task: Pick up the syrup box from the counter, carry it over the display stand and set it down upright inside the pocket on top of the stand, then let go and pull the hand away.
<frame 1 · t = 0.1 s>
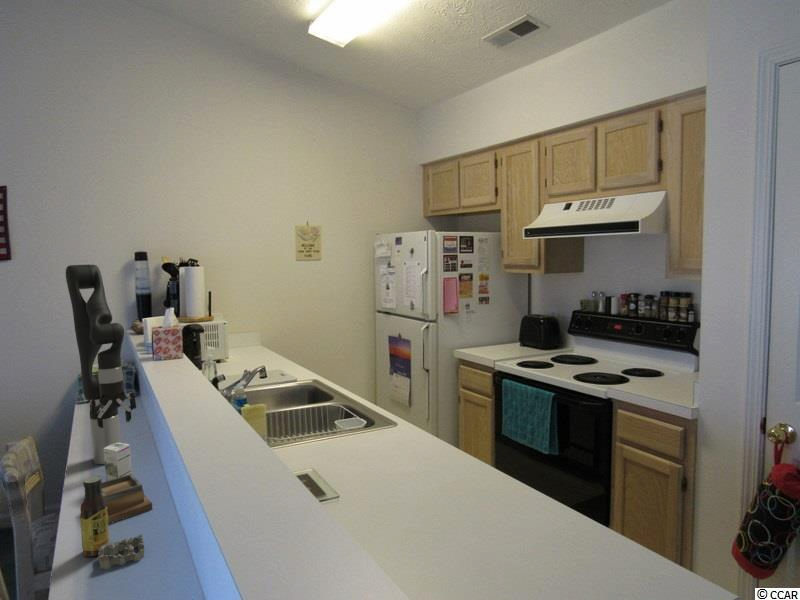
hand: (114, 424, 183), 17 cm above the countertop, tool pointing down, fingers open, 8 cm apart
sauce bottle: (96, 551, 138), on the countertop
syrup box: (119, 487, 173), on the countertop
egg carton: (122, 559, 135), on the countertop
display stand: (119, 507, 160), on the countertop
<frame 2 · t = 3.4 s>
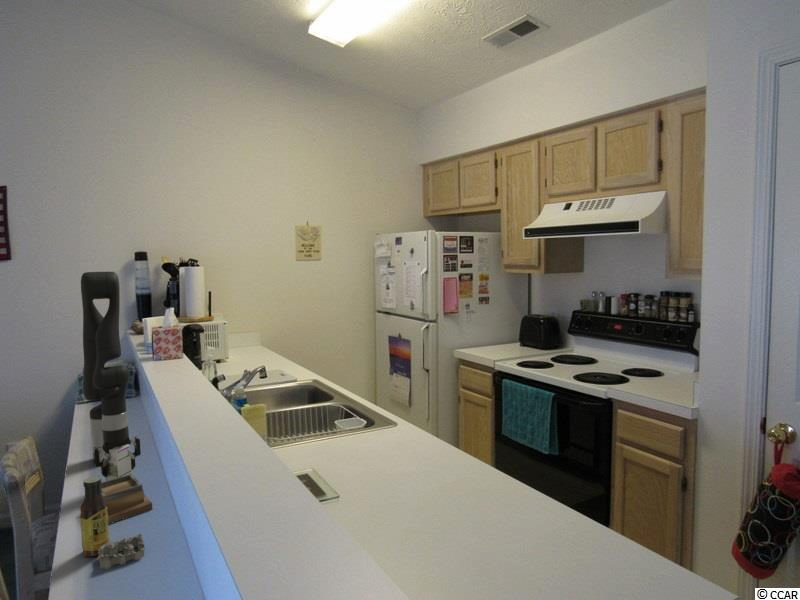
hand: (118, 472, 173), 5 cm above the countertop, tool pointing down, fingers closed on syrup box, 7 cm apart
syrup box: (119, 487, 173), on the countertop, touching gripper
everything else where it was.
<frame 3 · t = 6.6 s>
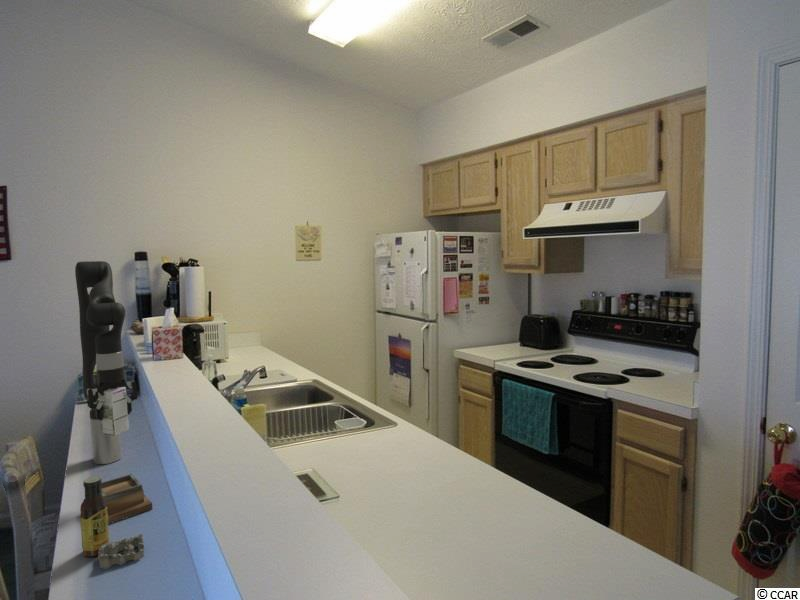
hand: (114, 416, 164), 27 cm above the countertop, tool pointing down, fingers closed on syrup box, 7 cm apart
syrup box: (115, 432, 164), point 22 cm above the countertop, touching gripper
everything else where it was.
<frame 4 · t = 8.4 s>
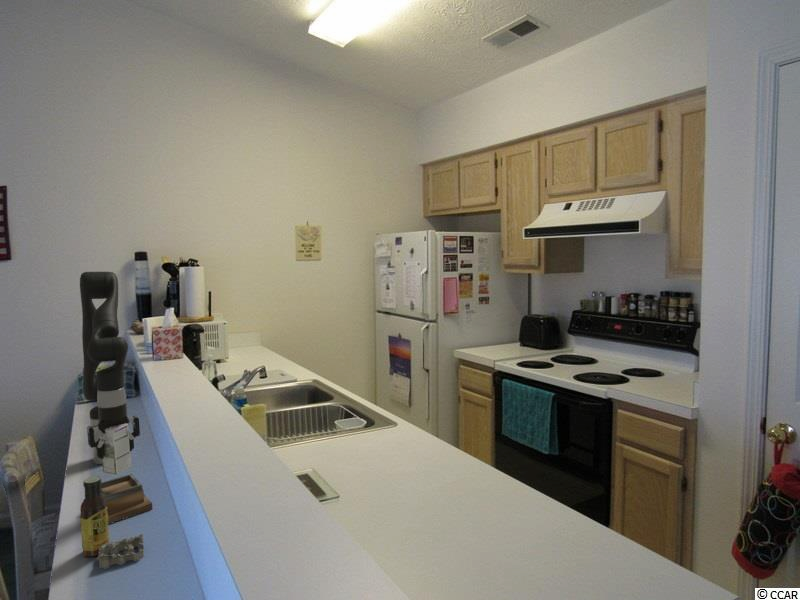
hand: (115, 454, 158), 17 cm above the countertop, tool pointing down, fingers closed on syrup box, 7 cm apart
syrup box: (117, 470, 158), point 12 cm above the countertop, touching gripper
everything else where it was.
when the fingers open (12 cm above the countertop, at t = 10.1 s): syrup box drops 1 cm, resting on display stand.
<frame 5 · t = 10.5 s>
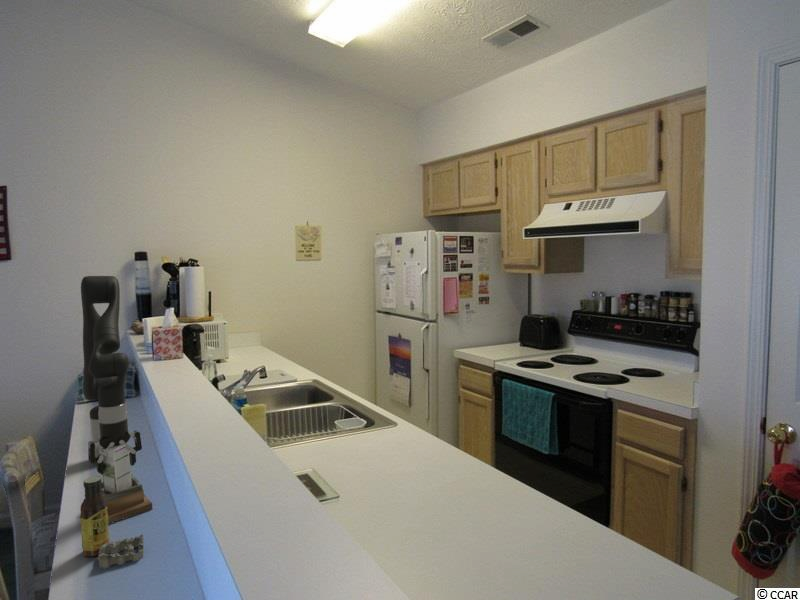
hand: (117, 469, 158), 13 cm above the countertop, tool pointing down, fingers open, 8 cm apart
syrup box: (117, 489, 159), point 6 cm above the countertop, touching display stand
everything else where it was.
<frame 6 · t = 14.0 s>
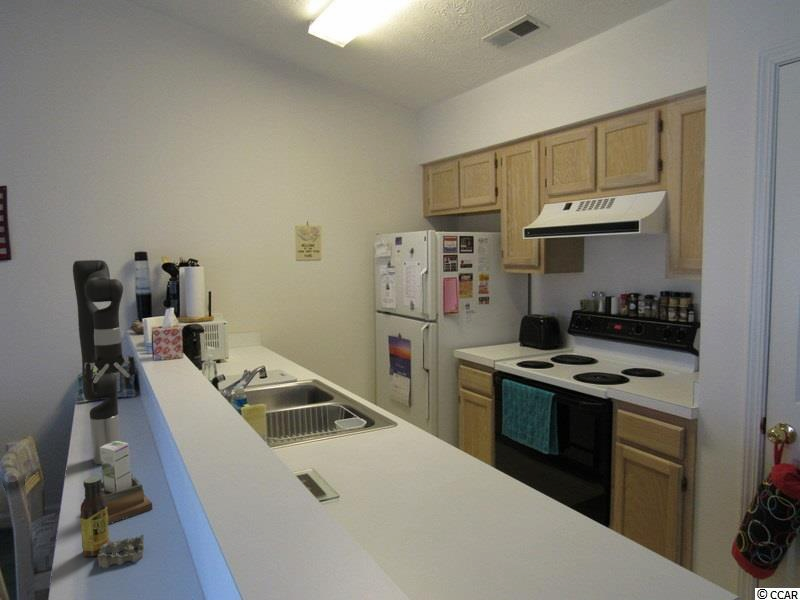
hand: (111, 391, 166), 34 cm above the countertop, tool pointing down, fingers open, 8 cm apart
nothing on the countertop moved.
at the end: syrup box 0.2 cm off-centre on the display stand, point 5.8 cm above the display stand's base; syrup box tilted 0°; the gripper is holding nothing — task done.
